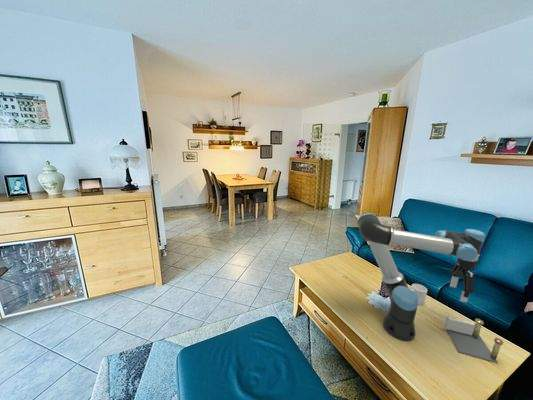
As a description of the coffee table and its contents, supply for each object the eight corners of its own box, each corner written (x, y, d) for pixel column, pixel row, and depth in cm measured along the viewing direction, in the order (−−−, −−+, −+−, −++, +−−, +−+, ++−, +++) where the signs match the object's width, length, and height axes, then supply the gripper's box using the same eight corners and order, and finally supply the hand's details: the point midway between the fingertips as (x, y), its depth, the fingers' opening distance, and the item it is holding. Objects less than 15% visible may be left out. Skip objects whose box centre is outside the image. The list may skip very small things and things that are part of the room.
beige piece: (470, 333, 117) (473, 321, 115) (472, 335, 116) (475, 324, 114) (443, 326, 121) (446, 315, 119) (444, 328, 120) (447, 317, 118)
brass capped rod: (490, 360, 104) (497, 341, 101) (487, 355, 106) (493, 337, 104) (498, 362, 103) (504, 343, 100) (494, 357, 105) (501, 338, 103)
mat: (458, 352, 108) (458, 351, 107) (444, 326, 123) (445, 325, 123) (497, 363, 102) (497, 362, 102) (478, 335, 118) (478, 334, 118)
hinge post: (472, 339, 115) (477, 322, 113) (469, 334, 118) (474, 317, 116) (479, 341, 114) (485, 323, 112) (476, 336, 117) (481, 319, 114)
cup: (427, 305, 139) (430, 291, 137) (409, 305, 139) (412, 292, 136) (417, 296, 147) (420, 283, 145) (400, 297, 147) (403, 283, 144)
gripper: (490, 272, 102) (478, 310, 107) (465, 249, 124) (456, 282, 130) (470, 268, 105) (459, 306, 110) (449, 247, 127) (441, 279, 132)
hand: (457, 293), depth 120 cm, fingers open, 12 cm apart
